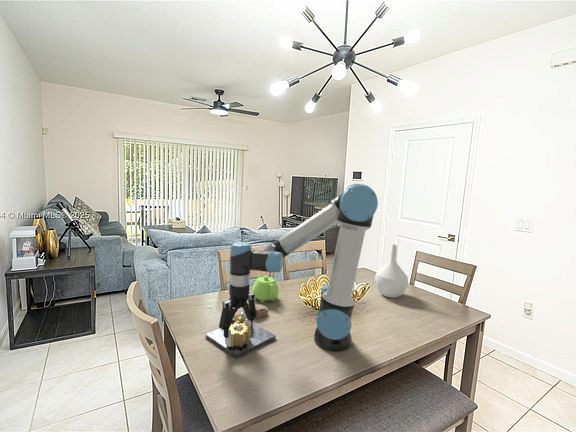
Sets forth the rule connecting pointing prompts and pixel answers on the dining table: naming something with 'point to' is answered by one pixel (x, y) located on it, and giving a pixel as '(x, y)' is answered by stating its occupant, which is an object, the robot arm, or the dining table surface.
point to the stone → (260, 310)
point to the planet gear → (240, 335)
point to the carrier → (255, 341)
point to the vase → (391, 278)
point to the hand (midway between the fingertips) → (238, 339)
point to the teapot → (265, 289)
